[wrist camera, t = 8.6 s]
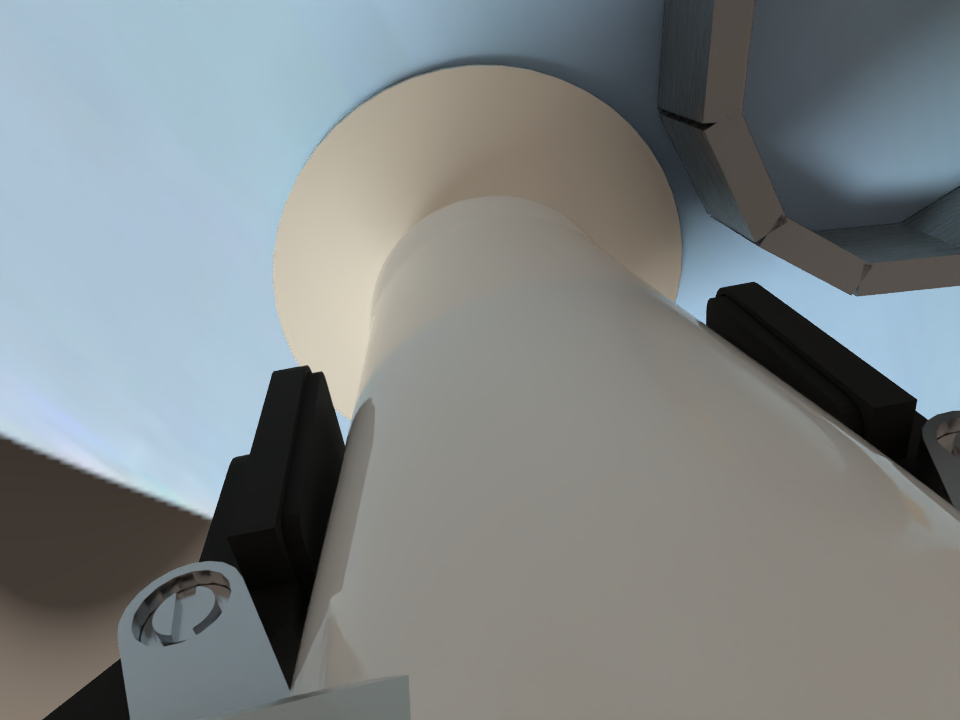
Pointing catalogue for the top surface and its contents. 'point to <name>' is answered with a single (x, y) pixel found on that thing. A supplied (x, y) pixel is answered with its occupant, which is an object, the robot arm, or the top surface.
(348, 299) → the disc
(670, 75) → the collar
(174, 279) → the top surface
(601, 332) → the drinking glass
